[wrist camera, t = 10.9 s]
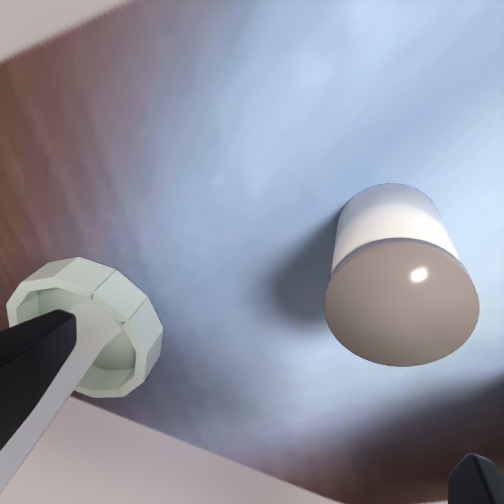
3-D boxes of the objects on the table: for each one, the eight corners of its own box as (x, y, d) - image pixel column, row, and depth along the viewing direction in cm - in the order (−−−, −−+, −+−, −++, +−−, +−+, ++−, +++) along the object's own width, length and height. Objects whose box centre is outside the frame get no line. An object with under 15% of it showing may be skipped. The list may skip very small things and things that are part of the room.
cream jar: (464, 199, 18) (511, 277, 12) (416, 287, 21) (436, 383, 15) (355, 168, 19) (352, 228, 13) (322, 257, 21) (307, 340, 16)
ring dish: (168, 287, 25) (151, 310, 23) (155, 388, 30) (140, 415, 28) (28, 239, 26) (-1, 258, 24) (39, 346, 31) (15, 368, 29)
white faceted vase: (127, 356, 29) (-62, 617, 16) (72, 339, 29) (-153, 578, 16) (126, 307, 26) (-96, 569, 13) (67, 290, 27) (-201, 525, 14)
